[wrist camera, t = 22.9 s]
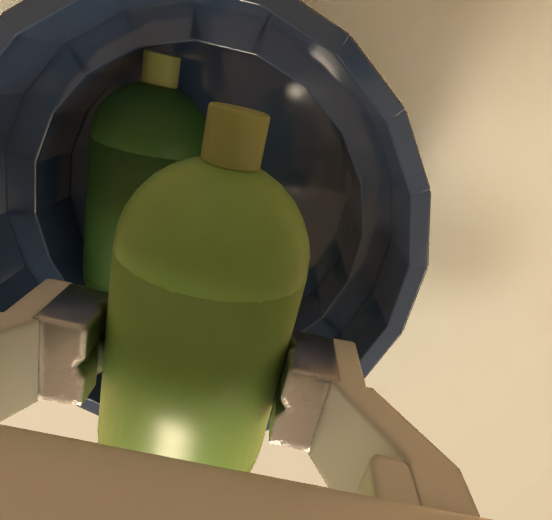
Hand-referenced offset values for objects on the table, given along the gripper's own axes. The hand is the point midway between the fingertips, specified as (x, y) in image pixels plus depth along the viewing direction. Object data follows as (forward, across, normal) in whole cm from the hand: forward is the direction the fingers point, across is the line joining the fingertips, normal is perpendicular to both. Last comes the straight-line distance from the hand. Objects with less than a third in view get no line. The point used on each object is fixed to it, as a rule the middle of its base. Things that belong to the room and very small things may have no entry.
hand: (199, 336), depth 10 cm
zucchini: (+10, +3, 0) cm, 10 cm away
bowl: (+10, +2, 0) cm, 10 cm away
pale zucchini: (+2, 0, 0) cm, 2 cm away
